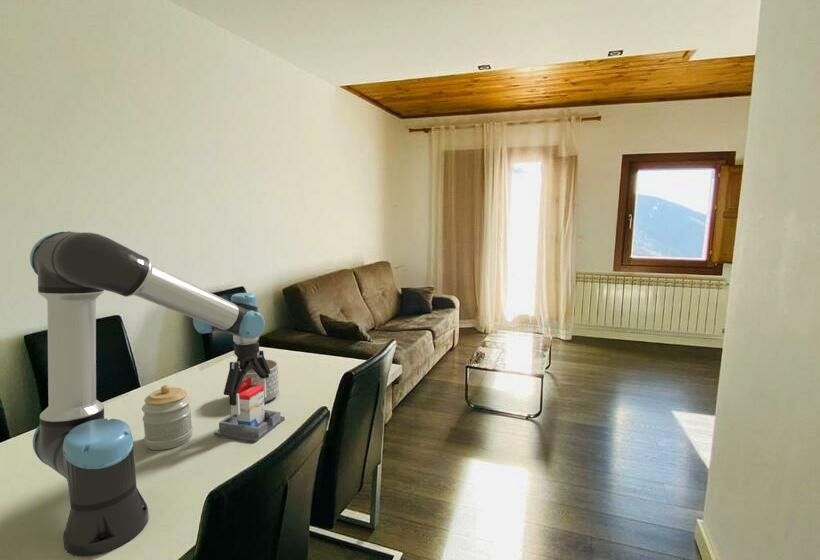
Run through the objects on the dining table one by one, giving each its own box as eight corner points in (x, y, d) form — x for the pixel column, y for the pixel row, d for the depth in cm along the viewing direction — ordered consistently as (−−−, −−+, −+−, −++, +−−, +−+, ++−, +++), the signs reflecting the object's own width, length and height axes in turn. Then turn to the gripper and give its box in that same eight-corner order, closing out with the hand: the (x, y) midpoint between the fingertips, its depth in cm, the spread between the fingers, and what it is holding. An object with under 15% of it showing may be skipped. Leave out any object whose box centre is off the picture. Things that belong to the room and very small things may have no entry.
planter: (224, 404, 158) (222, 371, 156) (250, 387, 173) (249, 357, 172) (263, 409, 154) (262, 375, 152) (287, 391, 170) (285, 360, 168)
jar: (201, 436, 134) (198, 382, 132) (160, 455, 123) (155, 397, 121) (177, 426, 141) (173, 374, 138) (136, 443, 130) (131, 388, 127)
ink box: (250, 431, 135) (248, 386, 133) (237, 429, 137) (234, 385, 135) (265, 419, 144) (263, 377, 142) (252, 417, 145) (250, 375, 143)
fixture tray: (255, 442, 130) (254, 431, 130) (214, 435, 134) (213, 425, 134) (284, 419, 145) (284, 409, 145) (247, 414, 150) (246, 404, 149)
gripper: (229, 354, 123) (233, 423, 126) (279, 332, 147) (281, 391, 150) (208, 351, 125) (212, 420, 128) (260, 331, 149) (263, 389, 152)
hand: (249, 405), depth 139 cm, fingers open, 13 cm apart
